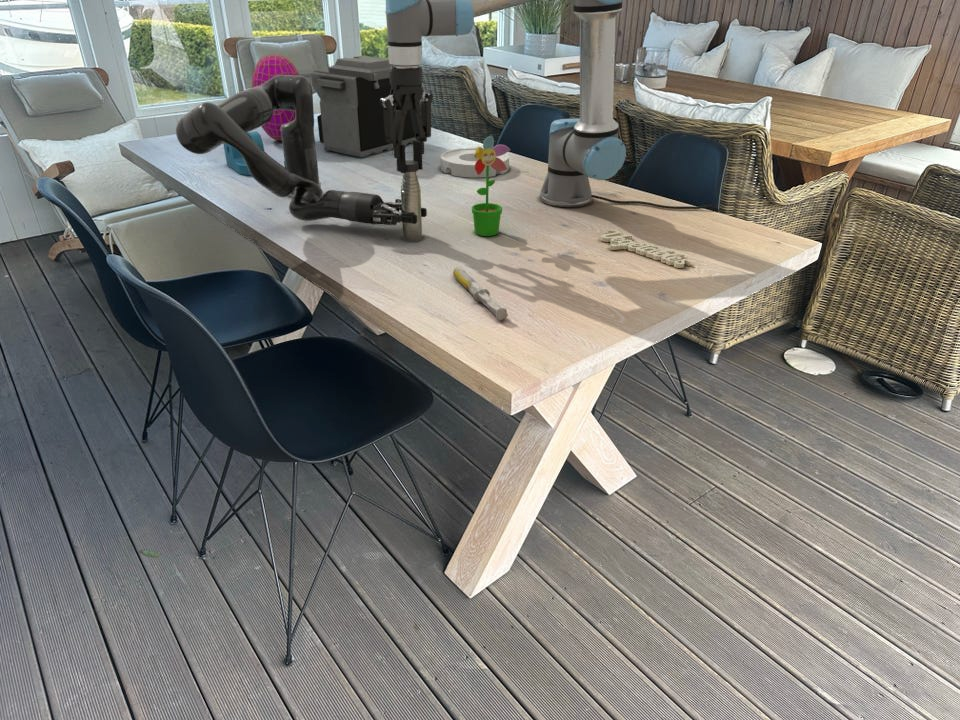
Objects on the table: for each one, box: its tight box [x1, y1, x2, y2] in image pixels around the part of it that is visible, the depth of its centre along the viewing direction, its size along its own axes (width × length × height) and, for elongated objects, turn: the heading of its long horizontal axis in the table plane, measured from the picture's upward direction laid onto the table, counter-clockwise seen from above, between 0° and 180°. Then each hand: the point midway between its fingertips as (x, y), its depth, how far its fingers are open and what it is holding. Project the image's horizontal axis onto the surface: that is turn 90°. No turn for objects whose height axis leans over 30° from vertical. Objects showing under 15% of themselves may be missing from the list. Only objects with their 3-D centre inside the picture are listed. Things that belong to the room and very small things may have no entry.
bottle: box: [400, 171, 423, 242], centre depth 170 cm, size 5×5×19 cm
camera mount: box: [222, 131, 265, 176], centre depth 226 cm, size 18×10×10 cm, turn 35°
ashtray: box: [439, 147, 510, 178], centre depth 231 cm, size 23×23×4 cm
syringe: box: [452, 266, 509, 321], centre depth 145 cm, size 25×4×3 cm, turn 21°
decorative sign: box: [600, 229, 691, 269], centre depth 168 cm, size 26×1×10 cm
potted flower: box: [471, 135, 511, 237], centre depth 172 cm, size 9×8×25 cm
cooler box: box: [310, 55, 421, 159], centre depth 250 cm, size 37×22×30 cm, turn 144°
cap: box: [406, 159, 420, 173], centre depth 165 cm, size 4×4×2 cm
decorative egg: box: [251, 54, 301, 142], centre depth 257 cm, size 19×19×30 cm
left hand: (421, 215), depth 171 cm, fingers closed on bottle, 5 cm apart
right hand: (409, 169), depth 166 cm, fingers closed on cap, 4 cm apart
